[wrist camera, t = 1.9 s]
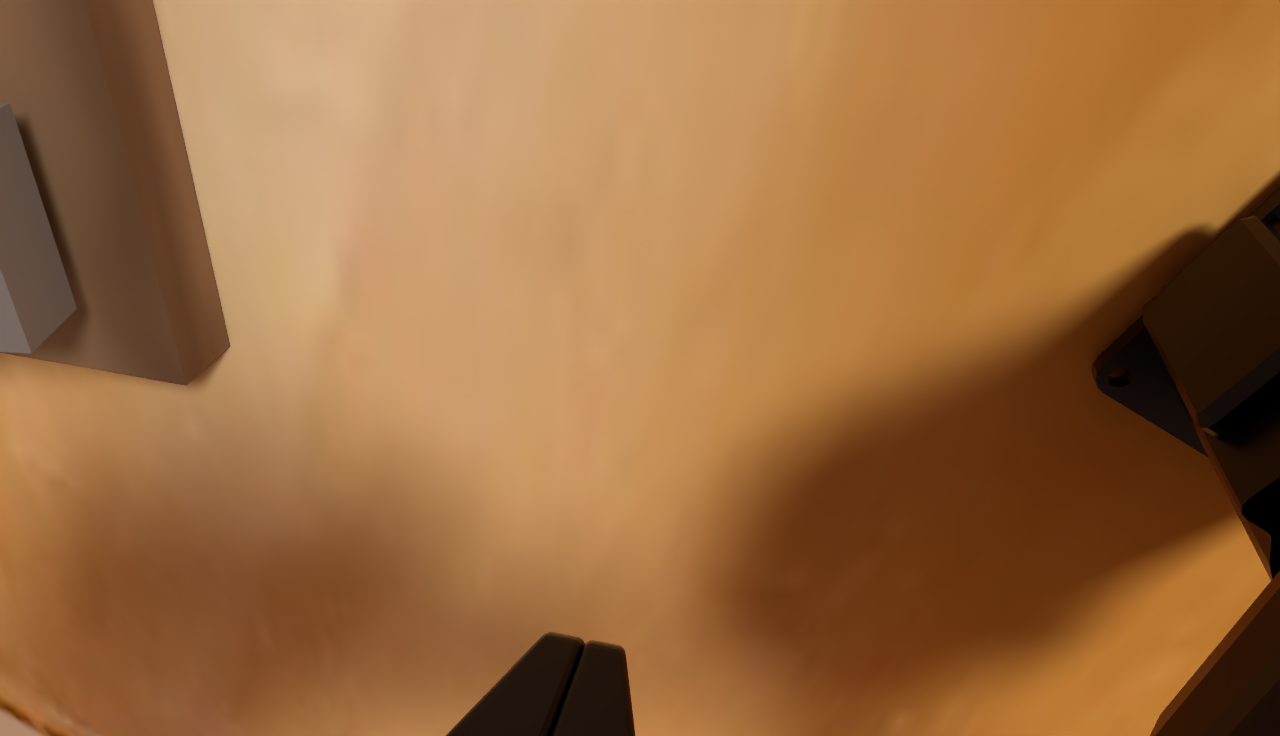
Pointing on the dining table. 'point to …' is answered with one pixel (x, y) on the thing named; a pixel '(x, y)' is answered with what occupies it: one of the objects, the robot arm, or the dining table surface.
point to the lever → (26, 252)
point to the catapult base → (113, 186)
